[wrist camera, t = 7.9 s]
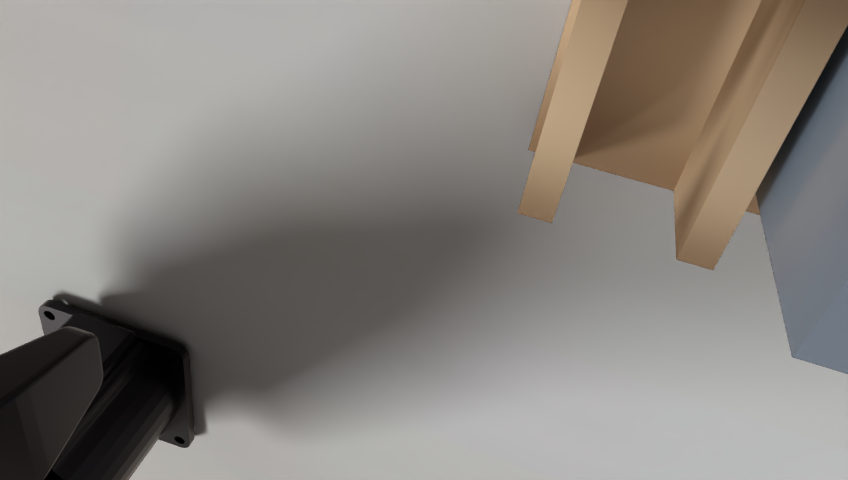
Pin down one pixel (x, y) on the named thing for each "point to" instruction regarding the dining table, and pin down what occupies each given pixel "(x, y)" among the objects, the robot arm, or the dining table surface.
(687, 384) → the dining table surface
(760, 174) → the rack
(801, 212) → the blue-grey flat block
